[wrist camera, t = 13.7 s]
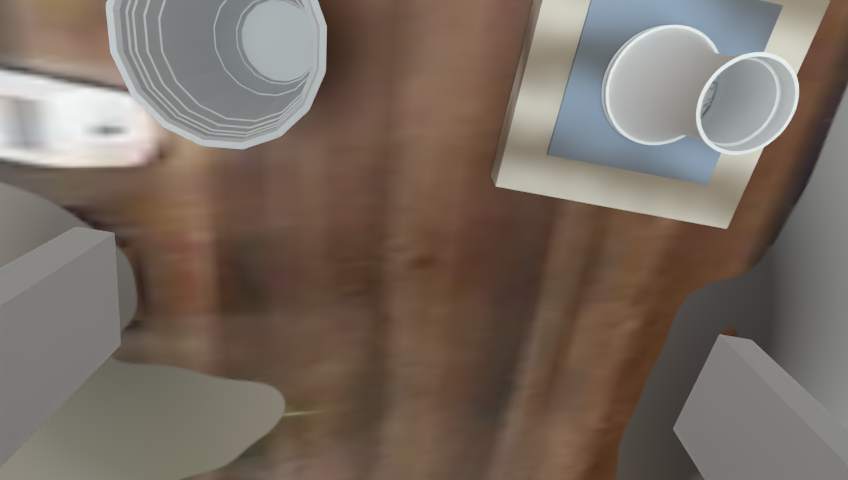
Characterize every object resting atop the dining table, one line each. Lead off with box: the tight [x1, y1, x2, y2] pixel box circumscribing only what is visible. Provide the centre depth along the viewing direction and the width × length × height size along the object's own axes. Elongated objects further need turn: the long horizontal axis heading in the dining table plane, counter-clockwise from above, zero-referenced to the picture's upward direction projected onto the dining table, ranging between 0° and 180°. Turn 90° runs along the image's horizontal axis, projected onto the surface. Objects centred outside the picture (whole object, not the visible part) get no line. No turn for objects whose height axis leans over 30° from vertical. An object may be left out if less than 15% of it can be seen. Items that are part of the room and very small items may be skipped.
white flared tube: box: [601, 25, 799, 155], centre depth 29 cm, size 8×8×10 cm
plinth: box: [491, 0, 830, 229], centre depth 35 cm, size 18×18×3 cm
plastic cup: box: [106, 0, 327, 149], centre depth 30 cm, size 11×11×12 cm
